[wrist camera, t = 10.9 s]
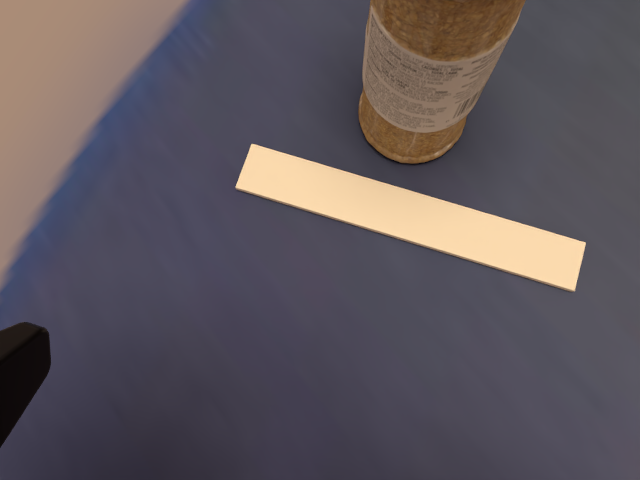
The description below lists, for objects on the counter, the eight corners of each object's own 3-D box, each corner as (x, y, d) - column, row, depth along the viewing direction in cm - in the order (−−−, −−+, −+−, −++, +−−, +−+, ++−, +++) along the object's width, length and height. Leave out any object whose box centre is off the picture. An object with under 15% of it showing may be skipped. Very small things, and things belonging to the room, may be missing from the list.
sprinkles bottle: (414, 48, 26) (493, -283, 13) (487, 122, 25) (649, -151, 12) (334, 112, 26) (332, -167, 12) (405, 190, 25) (484, -21, 12)
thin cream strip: (571, 291, 24) (574, 290, 23) (236, 189, 25) (235, 187, 25) (582, 244, 24) (585, 242, 24) (252, 146, 25) (251, 143, 25)
